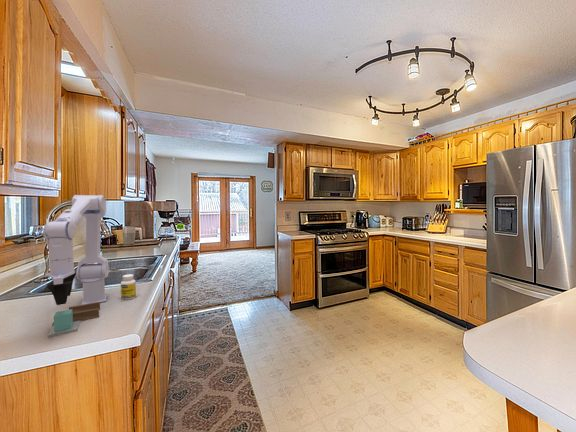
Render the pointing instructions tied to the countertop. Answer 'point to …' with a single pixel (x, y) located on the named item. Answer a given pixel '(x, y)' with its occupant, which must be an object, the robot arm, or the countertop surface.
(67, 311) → the block
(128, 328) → the countertop surface
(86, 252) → the robot arm
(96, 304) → the channel
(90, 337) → the countertop surface
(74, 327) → the tile
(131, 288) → the supplement bottle
